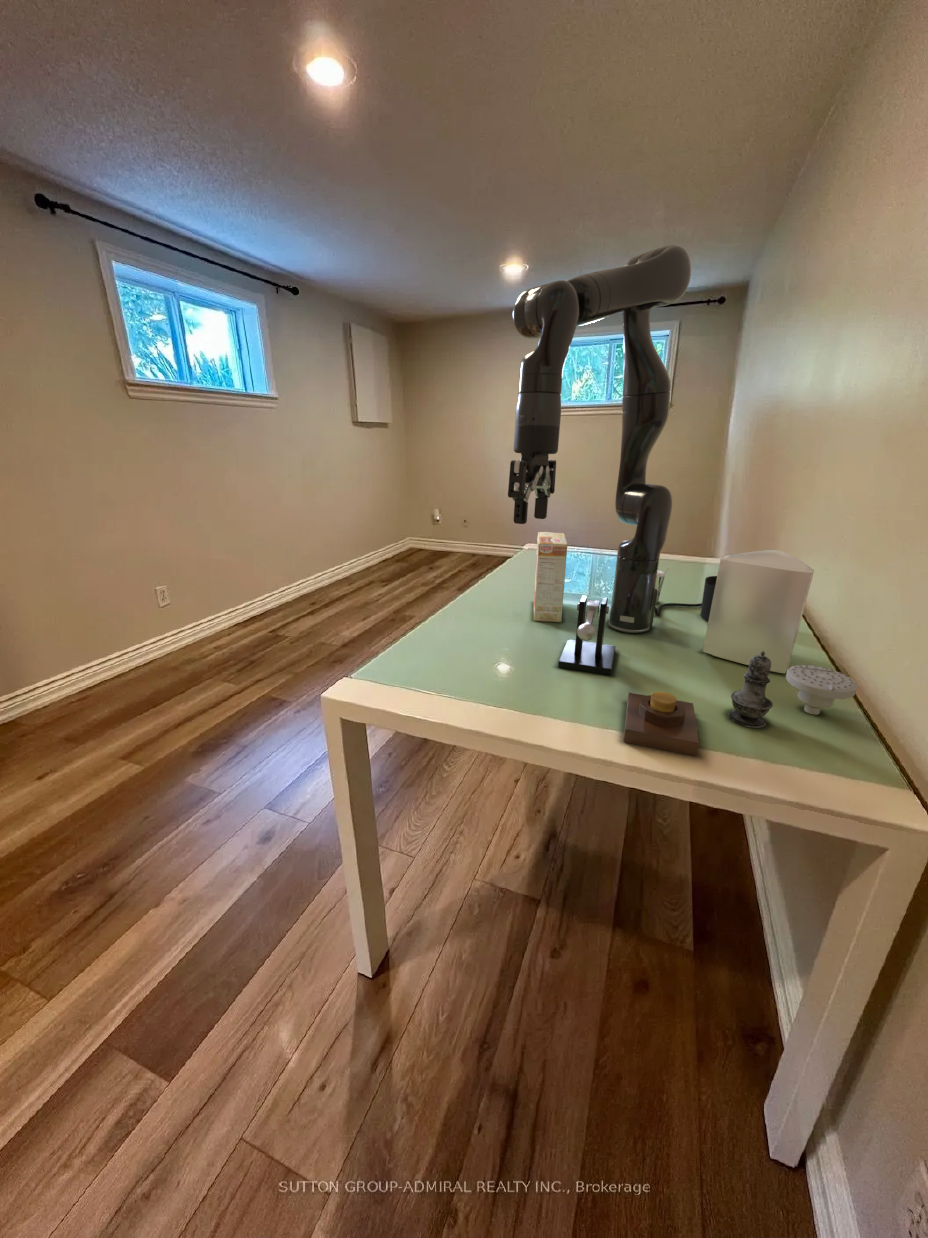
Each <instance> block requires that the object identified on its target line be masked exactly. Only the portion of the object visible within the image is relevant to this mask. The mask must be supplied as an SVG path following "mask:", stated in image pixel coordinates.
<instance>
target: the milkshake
mask: <svg viewBox="0 0 928 1238" xmlns="http://www.w3.org/2000/svg"><path fill="white" fill-rule="evenodd" d="M669 569H670V567H668V568H667V570H666V571H665V572H664V571H662V570H658V571H657V578H656V584H655V589H657V591H658V592H657V599H656V605H657V604H658V603H659V600H660V596H661V592H662V588H663V584H664V582H665V581H664V580H665V577H666V574H667V573H668V571H669Z"/></svg>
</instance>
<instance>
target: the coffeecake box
mask: <svg viewBox="0 0 928 1238" xmlns="http://www.w3.org/2000/svg"><path fill="white" fill-rule="evenodd" d="M535 553H536V554H535V572H534V586H533V587H534V588H533V622H553V623H562V620H563V619H562V618H563V605H564V594H565V582H566V581H565V580H566V569H567V568H566V567H567V555H568V541H567V539H566V535H565V532H551V531H538V532H537V541H536V552H535Z"/></svg>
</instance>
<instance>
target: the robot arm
mask: <svg viewBox="0 0 928 1238" xmlns="http://www.w3.org/2000/svg"><path fill="white" fill-rule="evenodd" d="M691 276H692V264H691V259H690V256H689V254H688V252H687V251H686V249H685V248H684V247H683V246H680V245H677V244H676V245H675V244H670V245H664V246H662V247H658V248H656V249H652V250H650V251H646V252H643V253H641V254H638V255H635V256H633V257H631V258H630V259H629V260H628V262H627V263H626V264H625V265H624V266H619V267H613V268H608V269H602V270H597V271H593V272H589V273H584V274H582V275H579V276H578V275H577V276H575V277H573V278H570V279H568V280H563V279H560V280H555V281H551V282H549V283H545V284H541V285H538V286H534V287H531V288H529V289H528V288H527V290H525V291H523V292H522V293H521V294H520V295H519V296H518V297H517V298H516V301H515V302H514V305H513V309H512V323H513V325H514V326H513V327H514V328H515V330H516V331H517V332H518V334H519V335H521V336H522V337H524V338H526V339H528V340H529V339H530V340H537V339H539V341H538V344H537V346H536V348H535V349H534V350H533V351H531V352H530V353H528V354H526V355H525V356H523V358H522V359H521V361H520V365H519V374H518V375H519V380H518V395H517V401H516V407H515V420H514V433H513V435H514V437H513V451H514V453H516V454H520V460H519V459H518V460H517V459H512V460H510V464H509V465H510V466H509V477H508V487H507V488H508V489H507V497H508V499H509V498H510V499H512V501H514V507H513V523H514V524H519V525H526V524H527V523H528V510H529V499H530V497H531V493H532V492H534V493H535V499H534V510H533V511H534V513H533V516H534V517H533V518H535V519H536V520H537V519H538V520H545V519H546V518H547V516H548V505H549V504H548V503H549V499H550V497H551V495H552V494H554V493H555V492H556V491H555V490H556V489H555V488H556V476H557V475H556V473H557V460H556V459H550V458H549V455H556V454H557V453H558V451H559V442H560V432H561V431H560V429H561V418H562V390H563V389H562V388H563V375H564V368H565V367H564V366H565V363H566V361H567V358H568V355H569V352H570V348H571V345H572V342H573V339H574V336H575V332H576V330H577V327H579V326H584V325H585V326H586V325H588V324H591V323H595V322H597V321H600V320H603V319H605V318H608V317H610V316H614V315H616V314H619V313H621V315H622V331H623V333H622V334H623V380H622V381H623V382H622V399H621V400H622V401H621V440H620V455H619V456H620V457H619V458H620V459H619V468H618V475H617V476H618V477H617V483H616V491H615V498H614V499H615V501H614V505H615V506H614V508H615V514H616V516H617V518H618V520H619V521H620V522H621V523H623V524H626V525H631V526H635V527H636V528H635V533H634V536H633V537H632V538H630V539H627V540H623V541H621V542H620V543H619V544H618V545H617V552H616V554H617V555H616V561H615V569H614V577H613V585H612V595H611V602H610V603H611V604H610V609H609V619H608V626H609V627H610V628H611V629H613V630H615V631H618V632H621V633H628V634H642V633H643V634H644V633H647V632H648V631H649V630H650V629H652V628H653V624H654V618H655V616H657V617H659V616H660V615H661V609H662V608H665V607H686V608H687V607H689V608H691V607H692V608H697V607H702V602H701V603H682V602H681V603H679V602H667V603H662V604H660V605H659V606H658V607H656V605H657V604H656V599H657V592H658V591H657V589H655V584H656V578H657V571H658V569H659V564H660V558H661V553H662V550H663V548H664V546H665V544H666V541H667V540H666V539H667V535H668V531H669V527H670V521H671V518H672V517H671V516H672V512H673V496H672V493H671V491H670V489H669V488H668V487H667V486H665V485H660V484H655V483H654V484H653V483H647V480H646V479H647V466H648V461H649V457H650V456H651V455H650V454H651V452H652V450H653V448H654V447H655V445H656V443H657V441H658V439H660V436H661V435H662V432H663V430H664V429H665V427H666V424H667V422H668V418H669V415H670V405H671V391H672V390H671V388H672V386H671V385H672V384H671V378H670V375H669V373H668V370H667V369H666V368H667V367H666V366H665V364H664V362H663V360H662V358H661V357H660V355H659V353H658V351H657V349H656V347H655V346H654V343H653V339H652V334H651V310H652V309H656V308H661V307H665V306H669V305H671V304H674V303H675V302H678V300H680V299H681V298H682V297H683V296H684V295H685V293H686V292H687V290H688V288H689V286H690V281H691Z"/></svg>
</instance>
